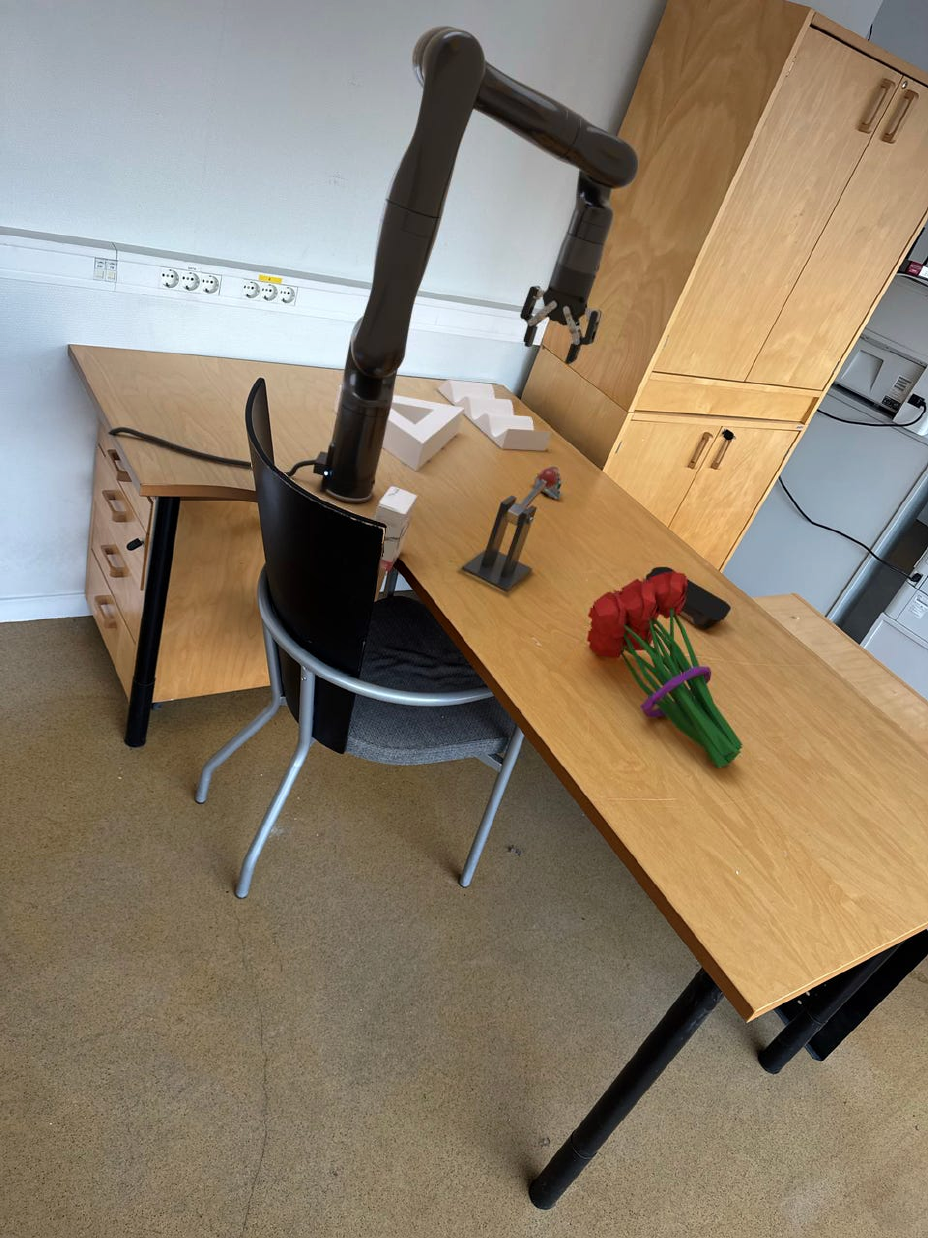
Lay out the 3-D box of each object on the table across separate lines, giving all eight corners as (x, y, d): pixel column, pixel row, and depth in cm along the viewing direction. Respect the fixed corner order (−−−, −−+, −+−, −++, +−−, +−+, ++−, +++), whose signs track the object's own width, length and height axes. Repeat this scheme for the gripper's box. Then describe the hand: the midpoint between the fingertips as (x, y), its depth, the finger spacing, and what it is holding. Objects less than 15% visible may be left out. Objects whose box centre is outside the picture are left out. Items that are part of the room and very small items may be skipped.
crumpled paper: (541, 483, 190) (550, 455, 186) (561, 500, 185) (571, 472, 181) (526, 483, 188) (535, 454, 184) (546, 500, 183) (556, 472, 179)
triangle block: (333, 411, 193) (338, 384, 189) (418, 406, 210) (424, 382, 207) (415, 471, 177) (422, 443, 174) (500, 461, 194) (508, 435, 191)
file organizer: (478, 393, 232) (483, 375, 229) (545, 450, 208) (552, 431, 206) (437, 389, 225) (442, 370, 222) (501, 448, 202) (508, 428, 199)
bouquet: (667, 810, 119) (551, 650, 133) (736, 780, 129) (622, 634, 143) (750, 729, 106) (613, 562, 120) (819, 702, 116) (685, 551, 130)
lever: (542, 476, 154) (545, 461, 151) (558, 484, 153) (562, 469, 150) (502, 521, 144) (504, 506, 142) (519, 529, 144) (522, 515, 141)
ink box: (389, 576, 139) (405, 513, 133) (360, 566, 139) (375, 503, 133) (402, 553, 146) (418, 493, 140) (375, 544, 147) (390, 483, 140)
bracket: (487, 552, 156) (509, 485, 148) (530, 573, 153) (554, 506, 146) (460, 572, 147) (482, 502, 139) (505, 595, 144) (529, 525, 137)
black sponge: (727, 623, 157) (735, 607, 156) (706, 635, 152) (714, 618, 150) (656, 579, 165) (663, 563, 163) (634, 588, 159) (641, 572, 157)
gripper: (533, 251, 147) (506, 343, 156) (606, 279, 143) (575, 371, 152) (549, 250, 153) (522, 338, 162) (620, 277, 149) (589, 366, 158)
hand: (548, 354), depth 157 cm, fingers open, 8 cm apart
